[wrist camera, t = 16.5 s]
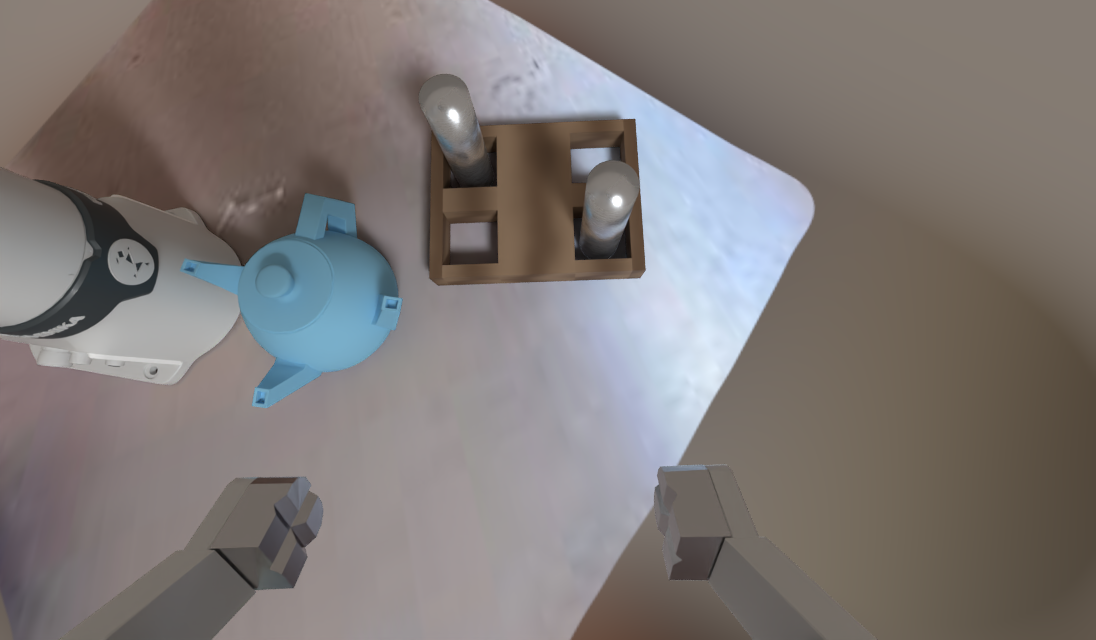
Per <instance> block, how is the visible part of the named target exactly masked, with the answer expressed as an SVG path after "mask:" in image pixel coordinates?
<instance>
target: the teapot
mask: <svg viewBox="0 0 1096 640" xmlns="http://www.w3.org/2000/svg"><path fill="white" fill-rule="evenodd" d="M327 219H328V231H326V230H325V229H326V223H327ZM180 271H181V272H184V273H186V274H189V275H191V276H194V277H196V278H199V279H201V280H204V281H206V282H209V283H211V284H214V285H216V286H219V287H221V288H223V289H225V290H227V291H229V292H232V293H234V294H236V295H238V303H239V308H240V311H241V314H242V317H243V319H244V321H245V324H246V326H247V328H248V329H249V331H250V333H251V334H252V336H253V337H254V339H255V340H256V341H257V342H258V343H259V344H260V345H261V346H262V347H263V348H264V349H265V350H266V351H267V352H268V353H270V354H271V355H273V356H274V357H276V360H275V363H274V365H273V366H272V368H271V369H270V370H269V372H268V373H267V375H266V376H265V377H264V379H263V380H262V381H261V383H260V384H259V385H258V387H255V391H254V397H253V402H252V406H256V407H263V408H268V407H270V406H271V405H273V404H275V403H276V402H278V401H280V400H281V399H283V398H284V397H286V396H288V395H289V394H291V393H293V392H294V391H296V390H298V389H299V388H301V387H303V386H304V385H306V384H307V383H309V382H311V381H312V380H314V379H316V378H317V377H319V376H321V373H322V372H332V371H339V370H343V369H346V368H349V367H351V366H354V365H356V364H358V363H360V362H361V361H363V360H365V359H366V358H367V357H369V356H370V355H371V354H372V353H374V352H375V351H376V350H377V349H378V348H379V347H380V345H381V344H382V343H383V342H384V340H385V339H386V337H387V336H388V334H389V332H390V330H395V329H396V325H397V322H398V318H399V315H400V310H401V305H402V300H403V299H402V298H398V288H397V283H396V279H395V276H394V273H393V271H392V269H391V267H390V265H389V264H388V262H387V261H386V259H385V258H384V257H383V256H382V255H381V254H380V253H379V252H378V251H377V250H376V249H374V248H373V247H372V246H370V245H369V244H367V243H365V242H364V241H362V240H360V239H357V229H356V216H355V204H353V203H349V202H345V201H341V200H337V199H333V198H328V197H323V196H318V195H312V194H307V193H305V196H304V200H303V204H302V208H301V212H300V216H299V220H298V224H297V229H296V233H294V234H290V235H287V236H284V237H281V238H279V239H276V240H274V241H272V242H270V243H268V244H266V245H265V246H264V247H262V248H261V249H259V250H258V251H257V252H256V253H255V254H254V255H253V256H252V257H251V258H250V259H249V261H248V262H247V263H246V265H245V266H237V265H229V264H221V263H213V262H205V261H197V260H189V259H186V258H185V259H184V261H183V264H182V266H181V269H180Z"/></svg>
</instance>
